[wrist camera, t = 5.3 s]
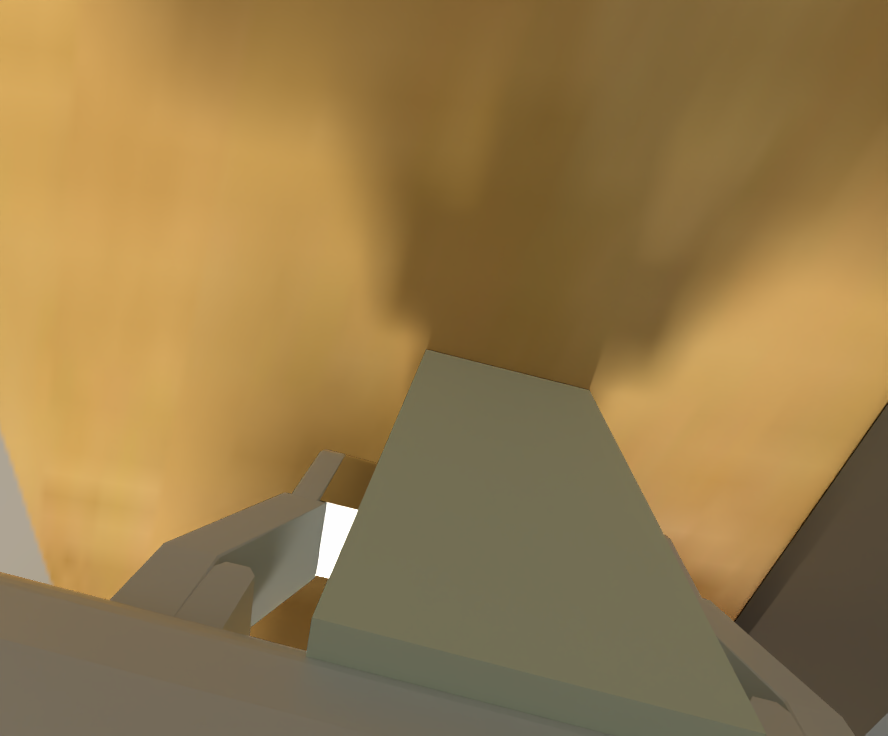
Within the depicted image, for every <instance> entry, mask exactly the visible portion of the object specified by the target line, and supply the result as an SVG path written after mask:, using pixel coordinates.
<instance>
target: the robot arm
mask: <svg viewBox="0 0 888 736" xmlns="http://www.w3.org/2000/svg"><path fill="white" fill-rule="evenodd" d="M377 464H378V463H375V462H372V461H368V460H365V459H361V458H357V457H354V456H350V455H345V454H342V453H338V452H335V451H331V450H327V449H324V450H322V451H321V452H320V453H319V454H318V456H317V457H316V459H315V460H314V462H313V463H312V465H311V466H310V467H309V469H308V470H307V472H306V473H305V475H304V476H303V478H302V479H301V481H300V482H299V484H298V485H297V487H296V488H295V490H294V491H293V493H292V494H289V493H282V494H280V495H277V496H275V497H273V498H270V499H268V500H265V501H263V502H261V503H258V504H256V505H254V506H251V507H249V508H246V509H244V510H242V511H239V512H237V513H235V514H232V515H230V516H227V517H225V518H223V519H220V520H218V521H216V522H213V523H211V524H208V525H206V526H204V527H201V528H199V529H197V530H194V531H192V532H189V533H187V534H185V535H182V536H180V537H178V538H175V539H173V540H170V541H168V542H166V543H164V544H163V545H162V546H161V547H160V548H159V549H158V550H157V551H156V552H155V553H154V554H153V555H152V556H151V557H150V558H149V560H148V561H147V562H146V563H145V564H144V565H143V566H142V567H141V568H140V569H139V570H138V571H137V572H136V573H135V574H134V575H133V576H132V577H131V578H130V579H129V580H128V581H127V583H126V584H125V585H124V586H123V587H122V588H121V589H120V590H119V591H118V592H117V593H116V594H115V595H114V596H113V597H112V598H111V599H110V600H107V599H103V598H99V597H95V596H92V595H88V594H84V593H80V592H76V591H72V590H68V589H64V588H60V587H57V586H53V585H49V584H45V583H41V582H37V581H33V580H29V579H25V578H22V577H18V576H14V575H10V574H6V573H2V572H0V736H613V735H609V734H605V733H602V732H598V731H594V730H590V729H586V728H582V727H578V726H574V725H570V724H567V723H563V722H559V721H555V720H551V719H547V718H543V717H539V716H535V715H532V714H528V713H524V712H520V711H516V710H512V709H508V708H504V707H500V706H497V705H493V704H489V703H485V702H481V701H477V700H473V699H469V698H465V697H461V696H458V695H454V694H450V693H446V692H442V691H438V690H434V689H430V688H426V687H423V686H419V685H415V684H411V683H407V682H403V681H399V680H395V679H391V678H388V677H384V676H380V675H376V674H372V673H368V672H364V671H360V670H356V669H353V668H349V667H345V666H341V665H337V664H333V663H329V662H325V661H321V660H317V659H314V658H310V657H306V652H307V651H305V650H301V649H297V648H294V647H290V646H286V645H282V644H278V643H274V642H270V641H266V640H262V639H259V638H255V637H251V636H250V627H251V626H253V625H254V624H255V623H257V622H258V621H259V620H261V619H262V618H263V617H264V616H266V615H267V614H268V613H270V612H271V611H272V610H274V609H275V608H276V607H277V606H279V605H280V604H281V603H283V602H284V601H285V600H287V599H288V598H289V597H290V596H292V595H293V594H294V593H296V592H297V591H298V590H299V589H301V588H302V587H303V586H305V585H306V584H307V583H309V582H310V581H311V580H312V579H314V578H315V575H317V576H322V577H326V578H329V576H330V574H331V572H332V569H333V567H334V565H335V562H336V560H337V558H338V555H339V553H340V550H341V548H342V546H343V543H344V541H345V539H346V536H347V534H348V532H349V529H350V527H351V525H352V522H353V520H354V518H355V515H356V513H357V511H358V508H359V506H360V504H361V501H362V499H363V497H364V494H365V492H366V490H367V487H368V485H369V483H370V480H371V478H372V475H373V473H374V471H375V468H376V466H377ZM664 536H665V538H666V540H667V542H668V544H669V546H670V548H671V549H672V551H673V553H674V555H675V557H676V559H677V561H678V563H679V565H680V567H681V569H682V571H683V573H684V575H685V577H686V579H687V581H688V582H689V584H690V586H691V588H692V590H693V592H694V594H695V596H696V598H697V600H698V602H699V604H700V606H701V608H702V610H703V612H704V614H705V615H706V617H707V619H708V621H709V623H710V625H711V627H712V629H713V631H714V633H715V635H716V637H717V639H718V641H719V643H720V645H721V646H722V648H723V650H724V652H725V654H726V656H727V658H728V660H729V662H730V664H731V666H732V668H733V670H734V672H735V674H736V676H737V678H738V679H739V681H740V683H741V685H742V687H743V689H744V691H745V693H746V695H747V697H748V699H749V701H750V703H751V705H752V707H753V709H754V711H755V712H756V714H757V716H758V718H759V720H760V722H761V724H762V726H763V728H764V730H765V732H766V736H855V735H854V733H853V732H852V730H851V729H850V727H849V726H848V725H847V723H846V722H845V720H844V719H843V717H842V716H840V715H839V714H838V713H837V712H836V711H835V710H834V709H832V708H831V707H830V706H829V705H828V704H827V703H826V702H825V701H823V700H822V699H821V698H820V697H819V696H818V695H817V694H815V693H814V692H813V691H812V690H811V689H810V688H809V687H807V686H806V685H805V684H804V683H803V682H802V681H801V680H800V679H798V678H797V677H796V676H795V675H794V674H793V673H792V672H790V671H789V670H788V669H787V668H786V667H785V666H784V665H783V664H781V663H780V662H779V661H778V660H777V659H776V658H775V657H773V656H772V655H771V654H770V653H769V652H768V651H767V650H766V649H764V648H763V647H762V646H761V645H760V644H759V643H758V642H756V641H755V640H754V639H753V638H752V637H751V636H750V635H748V634H747V633H746V632H745V631H744V630H743V629H742V628H741V627H739V626H738V625H737V624H736V623H735V622H734V621H733V620H731V619H730V618H729V617H728V616H727V615H726V614H725V613H724V612H722V611H721V610H720V609H719V608H718V607H717V606H716V605H714V604H713V603H712V602H711V601H710V600H707V599H703V598H702V597H701V596H700V594H699V592H698V590H697V588H696V586H695V584H694V582H693V581H692V579H691V577H690V575H689V573H688V571H687V569H686V567H685V566H684V564H683V562H682V560H681V558H680V556H679V554H678V552H677V551H676V549H675V547H674V545H673V543H672V541H671V539H670V538H668V537H667V536H666V535H665V534H664Z"/></svg>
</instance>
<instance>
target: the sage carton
mask: <svg viewBox="0 0 888 736" xmlns="http://www.w3.org/2000/svg"><path fill="white" fill-rule="evenodd" d="M306 657H310V658H314V659H317V660H321V661H325V662H329V663H333V664H337V665H341V666H345V667H349V668H353V669H356V670H360V671H364V672H368V673H372V674H376V675H380V676H384V677H388V678H391V679H395V680H399V681H403V682H407V683H411V684H415V685H419V686H423V687H426V688H430V689H434V690H438V691H442V692H446V693H450V694H454V695H458V696H461V697H465V698H469V699H473V700H477V701H481V702H485V703H489V704H493V705H497V706H500V707H504V708H508V709H512V710H516V711H520V712H524V713H528V714H532V715H535V716H539V717H543V718H547V719H551V720H555V721H559V722H563V723H567V724H570V725H574V726H578V727H582V728H586V729H590V730H594V731H598V732H602V733H605V734H609V735H613V736H766V732H765V730H764V728H763V726H762V724H761V722H760V720H759V718H758V716H757V714H756V712H755V711H754V709H753V707H752V705H751V703H750V701H749V699H748V697H747V695H746V693H745V691H744V689H743V687H742V685H741V683H740V681H739V679H738V678H737V676H736V674H735V672H734V670H733V668H732V666H731V664H730V662H729V660H728V658H727V656H726V654H725V652H724V650H723V648H722V646H721V645H720V643H719V641H718V639H717V637H716V635H715V633H714V631H713V629H712V627H711V625H710V623H709V621H708V619H707V617H706V615H705V614H704V612H703V610H702V608H701V606H700V604H699V602H698V600H697V598H696V596H695V594H694V592H693V590H692V588H691V586H690V584H689V582H688V581H687V579H686V577H685V575H684V573H683V571H682V569H681V567H680V565H679V563H678V561H677V559H676V557H675V555H674V553H673V551H672V549H671V548H670V546H669V544H668V542H667V540H666V538H665V536H664V534H663V532H662V530H661V528H660V526H659V524H658V522H657V520H656V518H655V516H654V515H653V513H652V511H651V509H650V507H649V505H648V503H647V501H646V499H645V497H644V495H643V493H642V491H641V489H640V487H639V485H638V484H637V482H636V480H635V478H634V476H633V474H632V472H631V470H630V468H629V466H628V464H627V462H626V460H625V458H624V456H623V454H622V452H621V451H620V449H619V447H618V445H617V443H616V441H615V439H614V437H613V435H612V433H611V431H610V429H609V427H608V425H607V423H606V421H605V419H604V418H603V416H602V414H601V412H600V410H599V408H598V406H597V404H596V402H595V400H594V398H593V396H592V394H591V392H590V390H587V389H583V388H579V387H575V386H571V385H567V384H563V383H559V382H555V381H551V380H547V379H543V378H539V377H535V376H531V375H527V374H523V373H519V372H515V371H511V370H507V369H503V368H499V367H495V366H491V365H487V364H483V363H479V362H475V361H471V360H467V359H463V358H459V357H455V356H451V355H447V354H443V353H439V352H435V351H431V350H427V349H426V351H425V354H424V356H423V358H422V361H421V363H420V365H419V368H418V370H417V372H416V375H415V377H414V379H413V382H412V384H411V386H410V389H409V391H408V393H407V396H406V398H405V400H404V403H403V405H402V408H401V410H400V412H399V415H398V417H397V419H396V422H395V424H394V426H393V429H392V431H391V433H390V436H389V438H388V440H387V443H386V445H385V447H384V450H383V452H382V454H381V457H380V459H379V461H378V464H377V466H376V468H375V471H374V473H373V475H372V478H371V480H370V483H369V485H368V487H367V490H366V492H365V494H364V497H363V499H362V501H361V504H360V506H359V508H358V511H357V513H356V515H355V518H354V520H353V522H352V525H351V527H350V529H349V532H348V534H347V536H346V539H345V541H344V543H343V546H342V548H341V550H340V553H339V555H338V558H337V560H336V562H335V565H334V567H333V569H332V572H331V574H330V576H329V579H328V581H327V583H326V586H325V588H324V590H323V593H322V595H321V597H320V600H319V602H318V604H317V607H316V609H315V611H314V614H313V616H312V620H311V627H310V633H309V640H308V646H307V652H306Z"/></svg>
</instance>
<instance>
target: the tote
mask: <svg viewBox="0 0 888 736" xmlns="http://www.w3.org/2000/svg"><path fill="white" fill-rule="evenodd" d="M735 623H736V624H737V625H738V626H739V627H741V628H742V629H743V630H744V631H745V632H746V633H747V634H748V635H750V636H751V637H752V638H753V639H754V640H755V641H756V642H758V643H759V644H760V645H761V646H762V647H763V648H764V649H766V650H767V651H768V652H769V653H770V654H771V655H772V656H773V657H775V658H776V659H777V660H778V661H779V662H780V663H781V664H783V665H784V666H785V667H786V668H787V669H788V670H789V671H790V672H792V673H793V674H794V675H795V676H796V677H797V678H798V679H800V680H801V681H802V682H803V683H804V684H805V685H806V686H807V687H809V688H810V689H811V690H812V691H813V692H814V693H815V694H817V695H818V696H819V697H820V698H821V699H822V700H823V701H825V702H826V703H827V704H828V705H829V706H830V707H831V708H832V709H834V710H835V711H836V712H837V713H838V714H839V715H840V716H842V717H843V719H844V720H845V722H846V723H847V725H848V726H849V727H850V729H851V730H852V732H853V733H854V735H855V736H888V405H887V406H886V408H885V409H884V410H883V412H882V413H881V415H880V416H879V418H878V419H877V420H876V422H875V423H874V425H873V426H872V428H871V429H870V430H869V432H868V433H867V435H866V436H865V437H864V439H863V440H862V442H861V443H860V445H859V446H858V447H857V449H856V450H855V452H854V453H853V455H852V456H851V457H850V459H849V460H848V462H847V463H846V465H845V466H844V467H843V469H842V470H841V472H840V473H839V475H838V476H837V477H836V479H835V480H834V482H833V483H832V485H831V486H830V487H829V489H828V490H827V492H826V493H825V494H824V496H823V497H822V499H821V500H820V502H819V503H818V504H817V506H816V507H815V509H814V510H813V512H812V513H811V514H810V516H809V517H808V519H807V520H806V522H805V523H804V524H803V526H802V527H801V529H800V530H799V532H798V533H797V534H796V536H795V537H794V539H793V540H792V541H791V543H790V544H789V546H788V547H787V549H786V550H785V551H784V553H783V554H782V556H781V557H780V559H779V560H778V561H777V563H776V564H775V566H774V567H773V569H772V570H771V571H770V573H769V574H768V576H767V577H766V579H765V580H764V581H763V583H762V584H761V586H760V587H759V588H758V590H757V591H756V593H755V594H754V596H753V597H752V598H751V600H750V601H749V603H748V604H747V606H746V607H745V608H744V610H743V611H742V613H741V614H740V616H739V617H738V618H737V620H736V621H735Z"/></svg>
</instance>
